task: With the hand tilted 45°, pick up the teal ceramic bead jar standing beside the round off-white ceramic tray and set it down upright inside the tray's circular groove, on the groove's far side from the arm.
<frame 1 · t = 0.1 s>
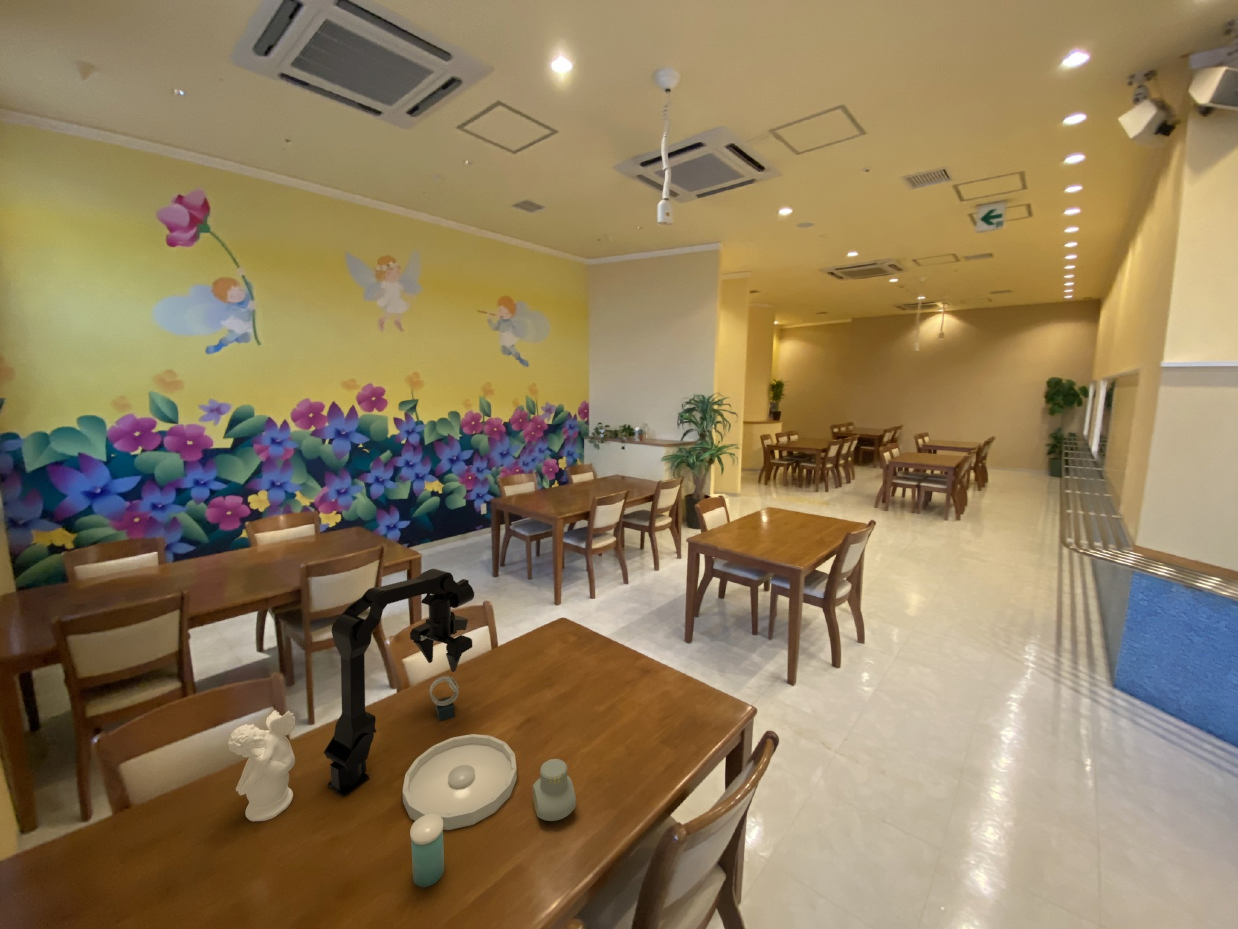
hand: (442, 666, 138), 15 cm above the table, tool pointing down, fingers open, 9 cm apart
cherub figurine: (274, 799, 111), on the table
air freshener: (553, 808, 110), on the table
bead jar: (428, 872, 95), on the table
watch: (445, 714, 141), on the table
groove tray: (461, 782, 116), on the table
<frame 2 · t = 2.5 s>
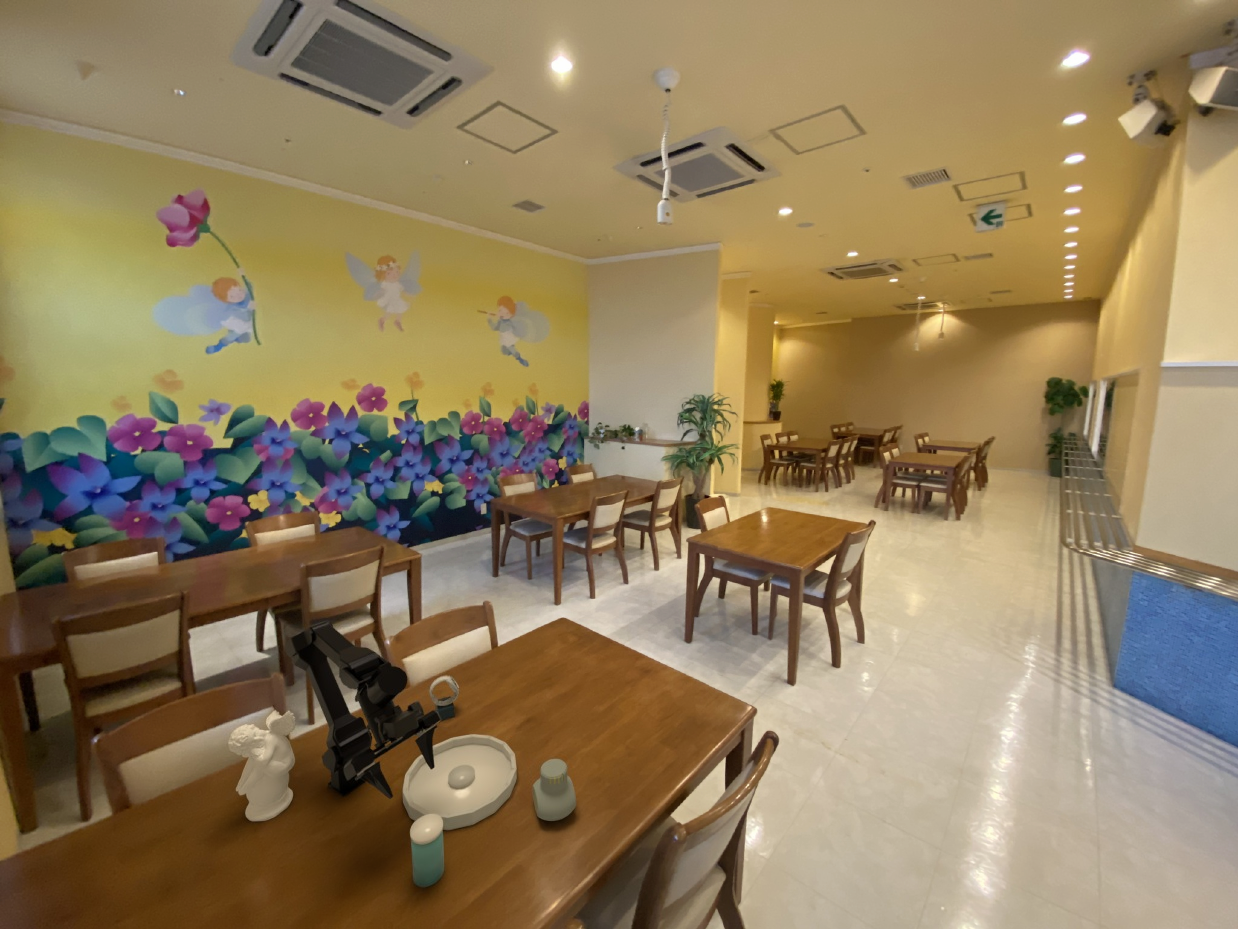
hand: (413, 782, 99), 13 cm above the table, tool tilted 45°, fingers open, 9 cm apart
nothing on the table moved.
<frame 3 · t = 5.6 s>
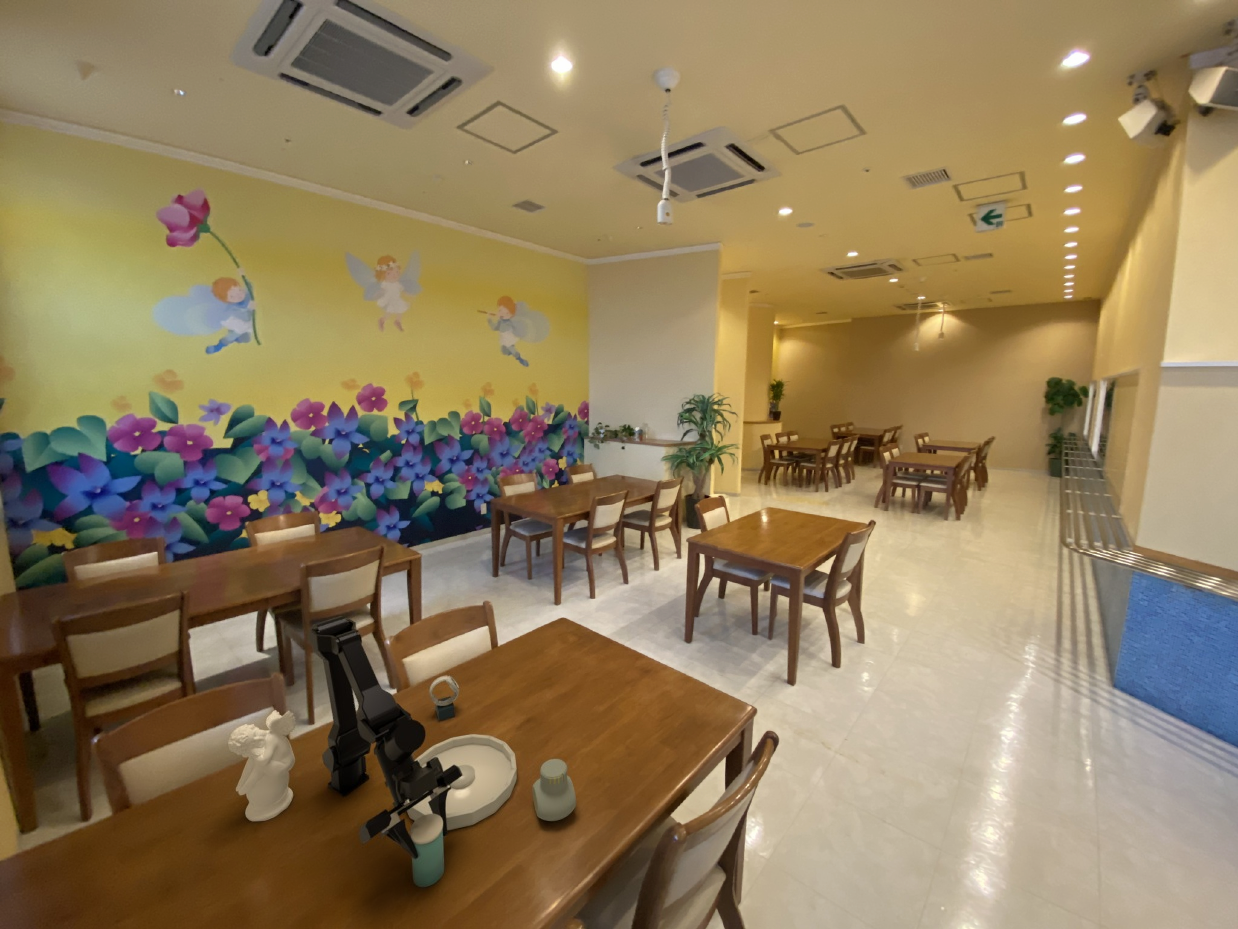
hand: (431, 847, 93), 7 cm above the table, tool tilted 45°, fingers closed on bead jar, 6 cm apart
bead jar: (428, 872, 95), on the table, touching gripper
everything else where it was.
when the fingers open (8 cm above the table, at t = 11.4 s): bead jar stays where it is, resting on groove tray.
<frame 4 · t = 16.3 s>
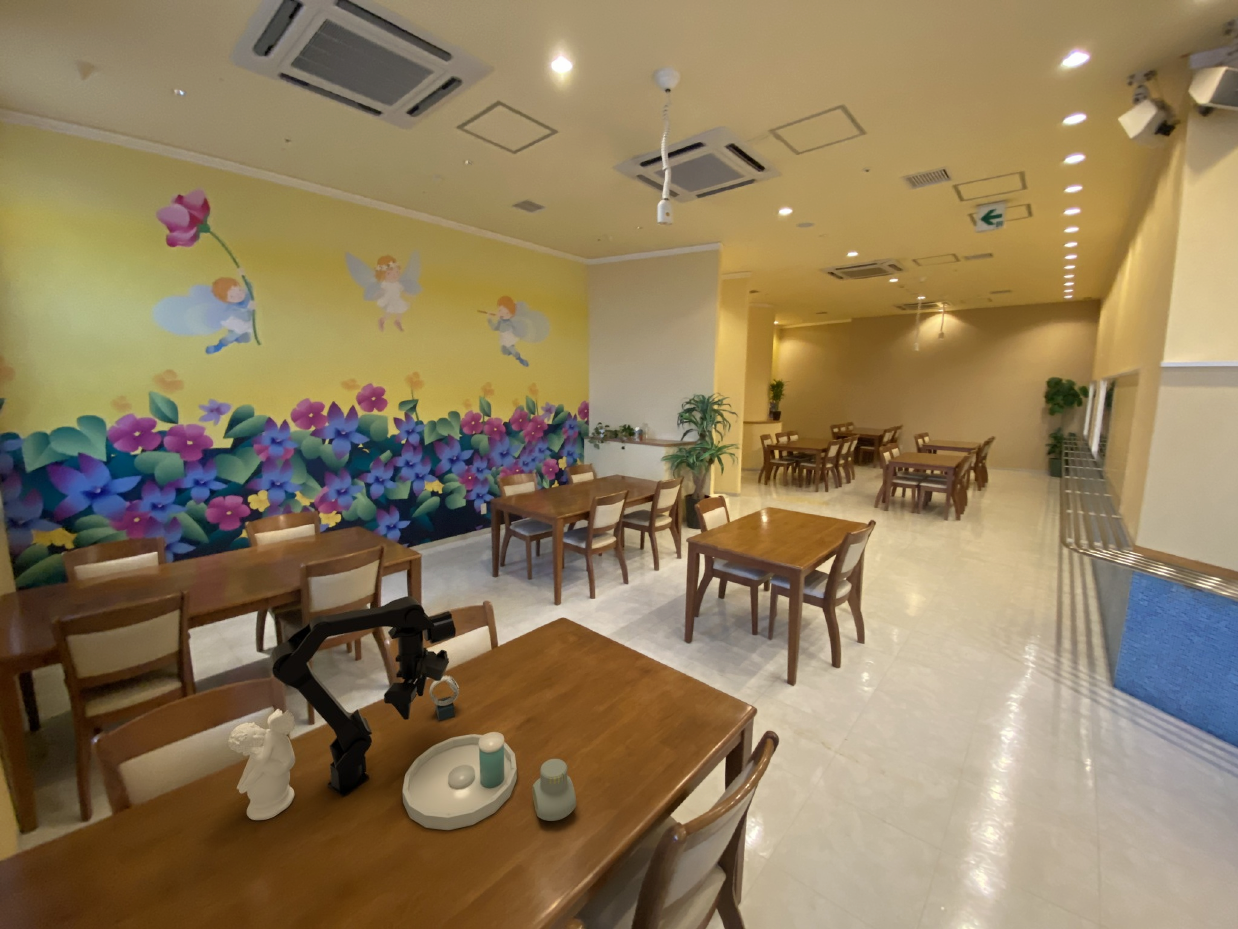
hand: (413, 707, 123), 13 cm above the table, tool pointing down, fingers open, 9 cm apart
bead jar: (492, 779, 116), point 1 cm above the table, touching groove tray
everything else where it was.
at the end: bead jar 0.1 cm from the target spot on the groove tray, point 1.0 cm above the groove tray's base; bead jar tilted 0°; the gripper is holding nothing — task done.
